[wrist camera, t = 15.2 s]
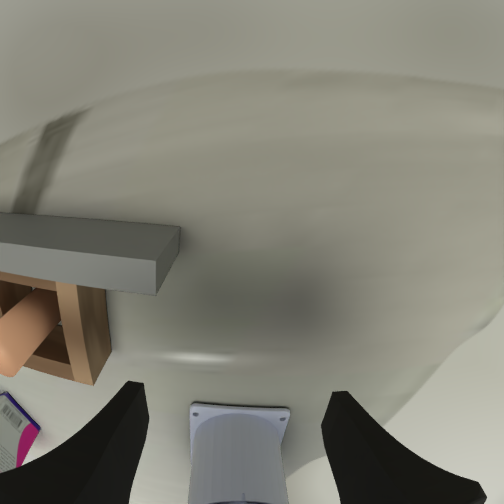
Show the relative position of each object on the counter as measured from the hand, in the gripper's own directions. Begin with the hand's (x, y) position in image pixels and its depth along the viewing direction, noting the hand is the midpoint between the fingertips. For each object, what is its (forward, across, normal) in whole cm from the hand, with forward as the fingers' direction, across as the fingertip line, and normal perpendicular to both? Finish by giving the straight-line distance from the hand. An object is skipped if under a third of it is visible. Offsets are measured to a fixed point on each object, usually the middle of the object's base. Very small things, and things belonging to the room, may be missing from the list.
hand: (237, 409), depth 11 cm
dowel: (+10, +13, +1) cm, 16 cm away
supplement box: (+10, +24, +18) cm, 32 cm away
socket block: (+9, +13, +1) cm, 16 cm away
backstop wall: (+10, +13, -4) cm, 16 cm away
